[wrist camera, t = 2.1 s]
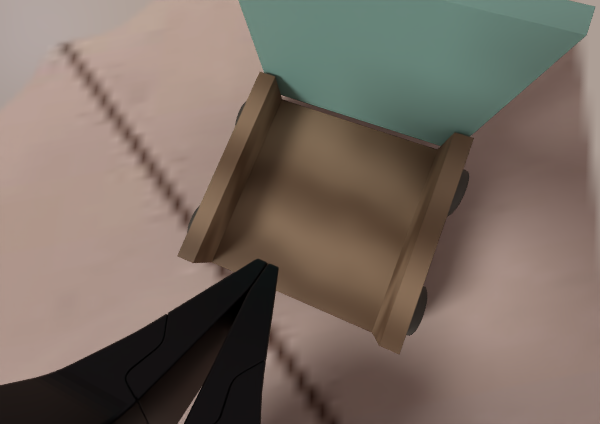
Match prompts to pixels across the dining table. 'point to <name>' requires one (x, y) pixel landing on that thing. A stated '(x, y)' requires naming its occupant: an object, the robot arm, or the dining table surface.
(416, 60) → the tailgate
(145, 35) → the dining table surface
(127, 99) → the dining table surface
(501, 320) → the dining table surface
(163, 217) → the dining table surface
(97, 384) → the robot arm
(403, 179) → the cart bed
